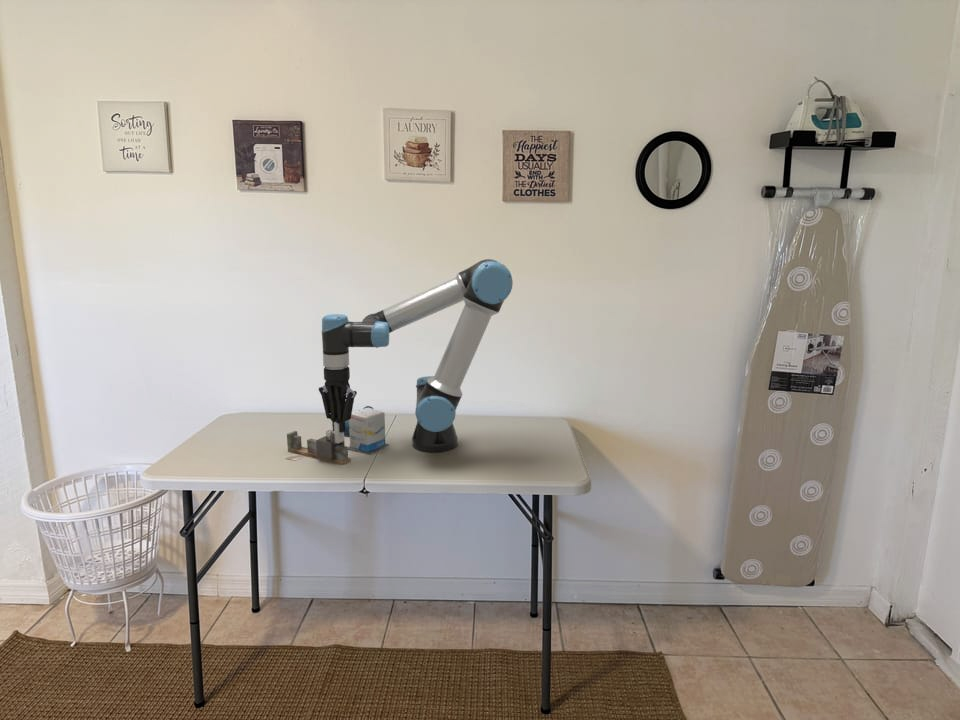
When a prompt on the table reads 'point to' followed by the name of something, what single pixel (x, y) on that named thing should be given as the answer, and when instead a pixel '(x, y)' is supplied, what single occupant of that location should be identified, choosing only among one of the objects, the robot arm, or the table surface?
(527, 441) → the table surface
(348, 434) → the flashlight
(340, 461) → the vise
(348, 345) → the robot arm
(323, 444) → the clip
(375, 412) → the ink box
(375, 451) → the mat
